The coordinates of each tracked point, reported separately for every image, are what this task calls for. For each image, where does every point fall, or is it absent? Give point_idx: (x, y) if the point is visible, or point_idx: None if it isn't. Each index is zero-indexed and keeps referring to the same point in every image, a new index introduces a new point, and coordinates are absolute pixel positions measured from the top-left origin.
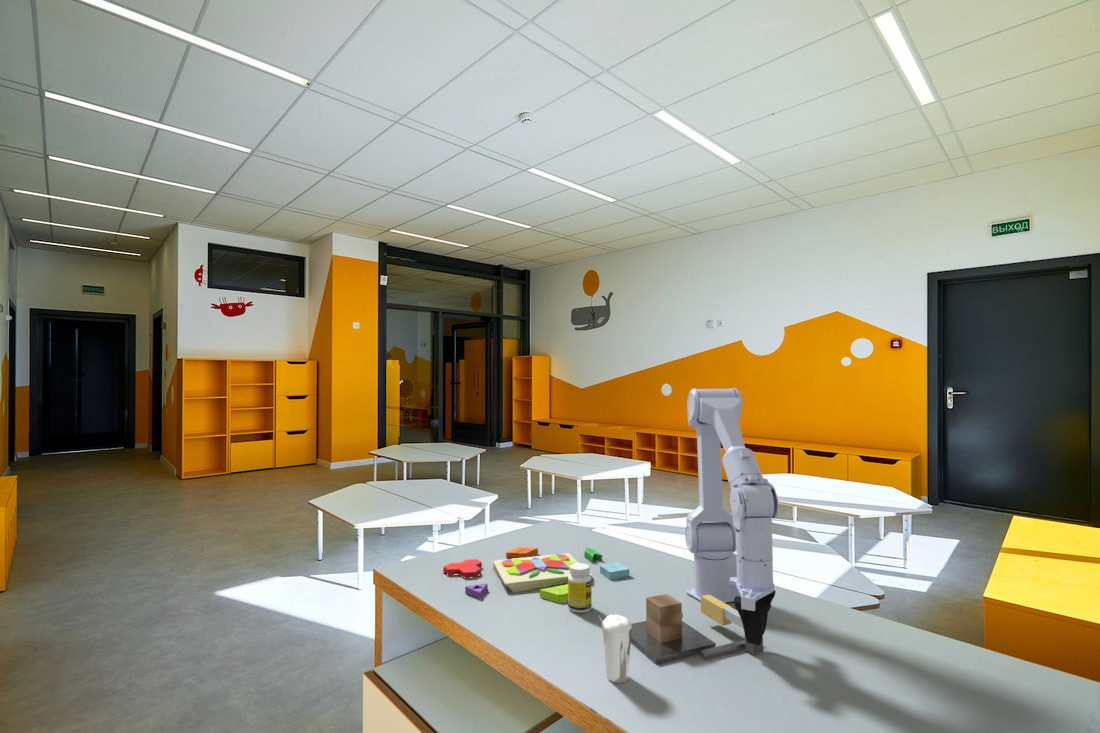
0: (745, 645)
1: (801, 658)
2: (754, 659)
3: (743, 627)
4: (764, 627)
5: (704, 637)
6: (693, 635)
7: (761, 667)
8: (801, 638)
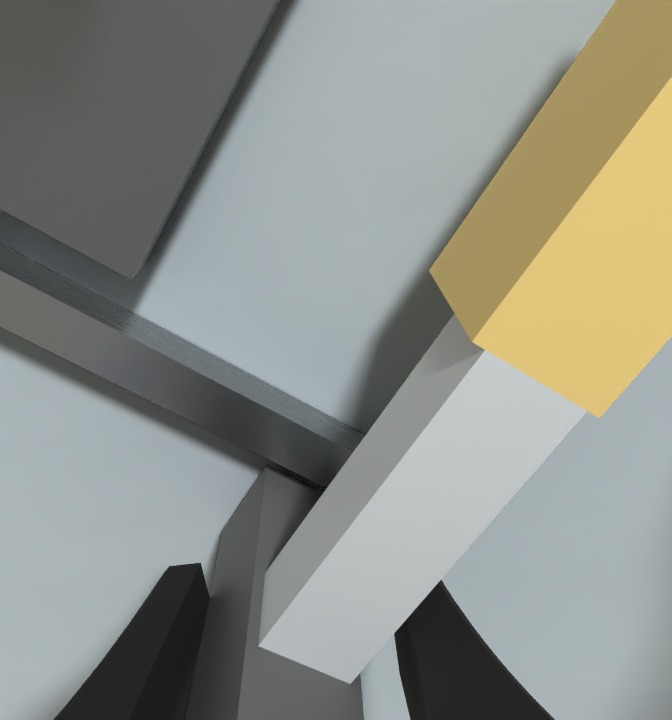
0: (260, 487)
1: (390, 709)
2: (196, 529)
3: (100, 662)
4: (402, 680)
5: (173, 143)
6: (137, 13)
7: (122, 584)
8: (666, 664)
